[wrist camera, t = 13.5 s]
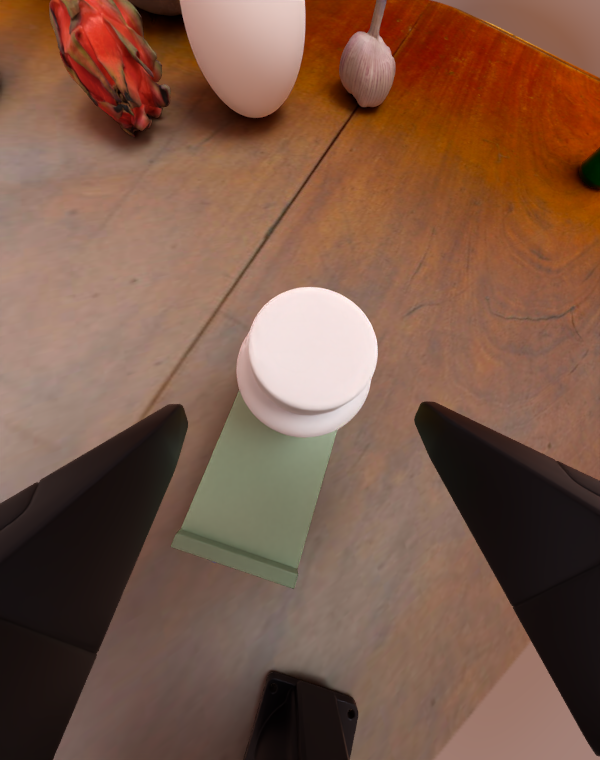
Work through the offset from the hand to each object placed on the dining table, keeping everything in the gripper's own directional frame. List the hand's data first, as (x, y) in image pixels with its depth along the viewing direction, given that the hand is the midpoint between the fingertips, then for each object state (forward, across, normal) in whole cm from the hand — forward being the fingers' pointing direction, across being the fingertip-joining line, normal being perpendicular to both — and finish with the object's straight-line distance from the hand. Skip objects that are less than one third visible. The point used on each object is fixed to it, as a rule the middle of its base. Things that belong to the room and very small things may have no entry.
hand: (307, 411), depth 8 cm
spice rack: (+7, +1, +9) cm, 11 cm away
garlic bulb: (+39, -10, -24) cm, 47 cm away
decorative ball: (+36, +4, -20) cm, 41 cm away
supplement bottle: (+7, 0, +4) cm, 8 cm away
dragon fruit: (+33, +18, -17) cm, 41 cm away
